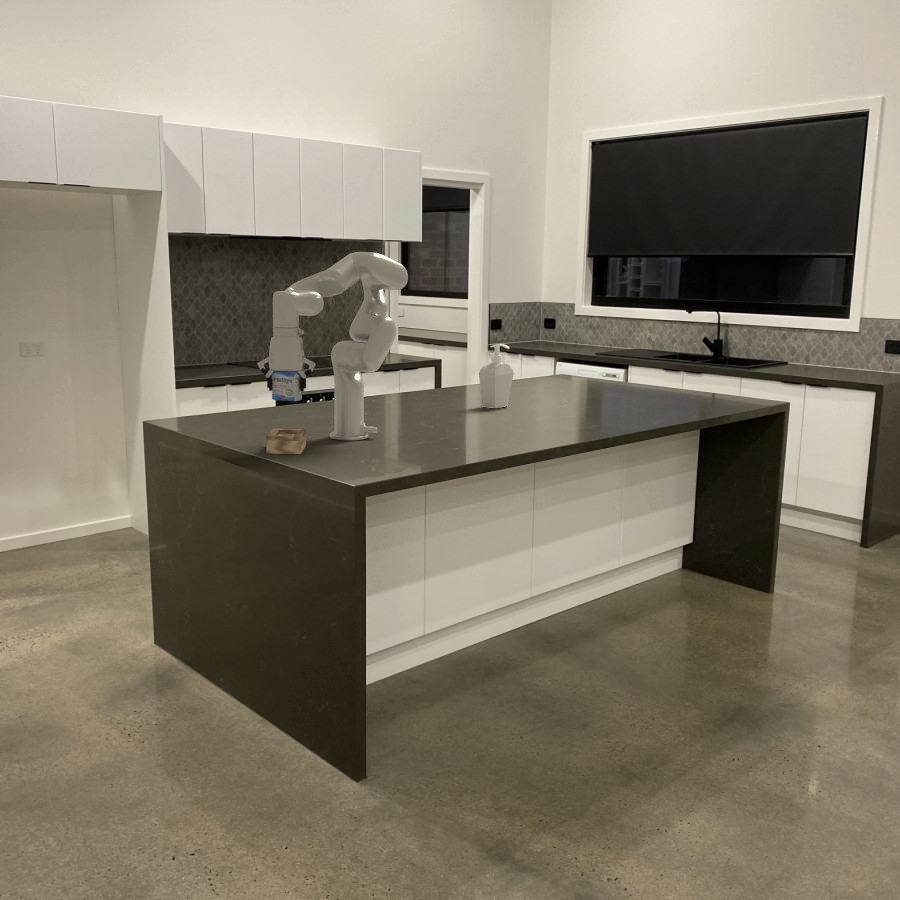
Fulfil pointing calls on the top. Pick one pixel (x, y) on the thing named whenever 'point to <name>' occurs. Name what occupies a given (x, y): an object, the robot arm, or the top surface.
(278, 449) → the block
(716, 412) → the top surface
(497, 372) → the soap bottle
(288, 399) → the medicine box
